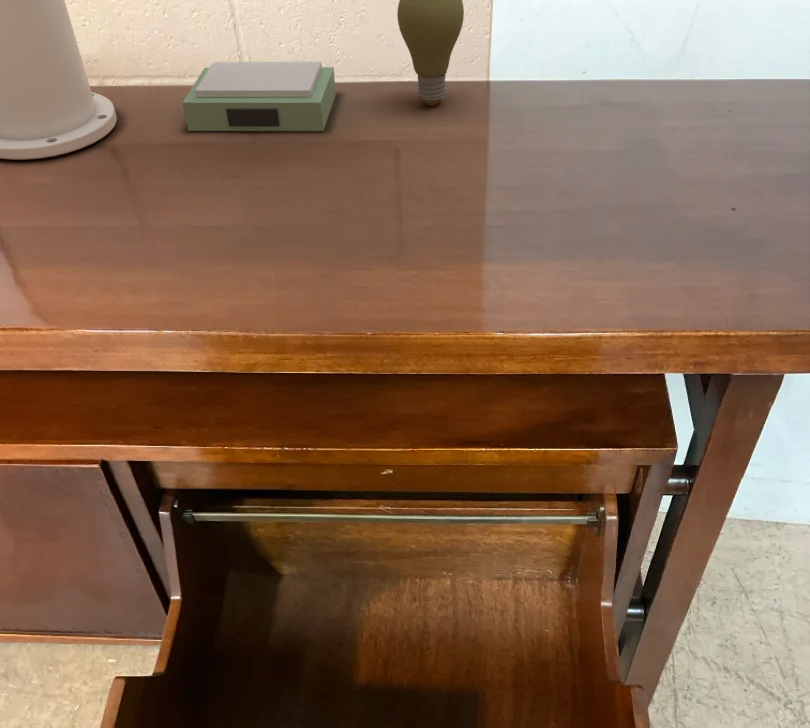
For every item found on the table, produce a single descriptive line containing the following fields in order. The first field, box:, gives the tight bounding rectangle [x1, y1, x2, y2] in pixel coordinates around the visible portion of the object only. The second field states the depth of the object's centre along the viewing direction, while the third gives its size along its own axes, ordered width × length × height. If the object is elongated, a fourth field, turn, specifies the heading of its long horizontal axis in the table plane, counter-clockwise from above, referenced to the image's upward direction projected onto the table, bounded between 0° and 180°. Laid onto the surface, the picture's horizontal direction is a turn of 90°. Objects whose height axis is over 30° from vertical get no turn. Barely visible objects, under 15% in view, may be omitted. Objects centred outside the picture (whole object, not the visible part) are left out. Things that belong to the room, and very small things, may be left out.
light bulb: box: [396, 0, 465, 106], centre depth 72 cm, size 6×6×10 cm
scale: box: [181, 61, 337, 132], centre depth 75 cm, size 12×8×3 cm
